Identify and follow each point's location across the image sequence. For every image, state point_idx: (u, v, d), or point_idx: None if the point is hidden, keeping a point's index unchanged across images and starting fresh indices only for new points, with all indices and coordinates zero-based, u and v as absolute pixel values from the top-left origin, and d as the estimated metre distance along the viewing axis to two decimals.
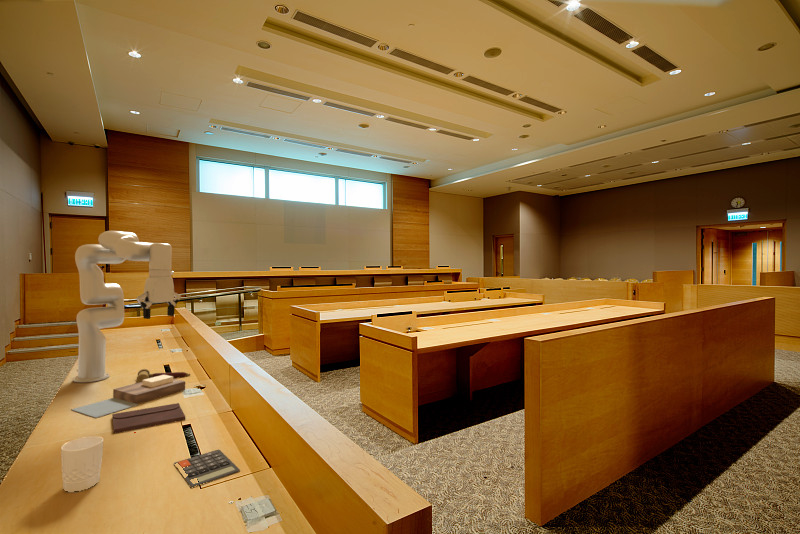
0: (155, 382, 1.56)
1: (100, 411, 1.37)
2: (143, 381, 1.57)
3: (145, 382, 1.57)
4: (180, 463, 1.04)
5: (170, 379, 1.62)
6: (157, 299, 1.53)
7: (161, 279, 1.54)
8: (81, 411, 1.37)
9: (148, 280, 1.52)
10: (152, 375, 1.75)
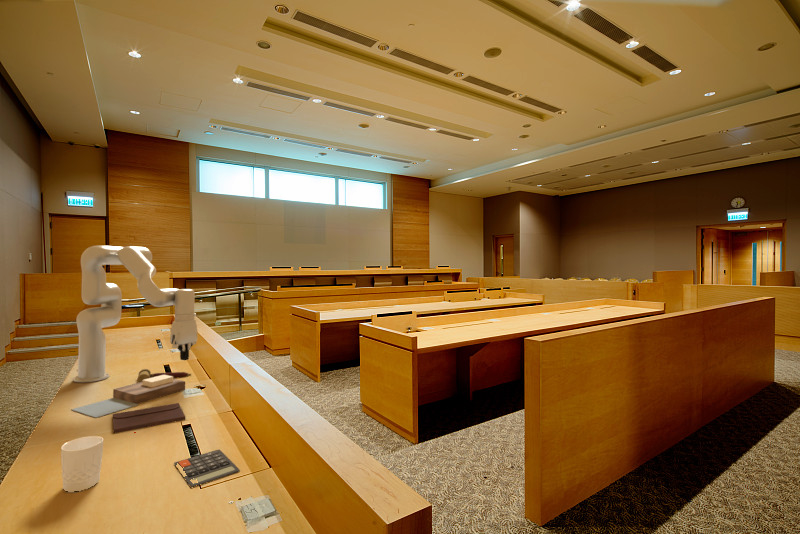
0: (155, 382, 1.56)
1: (100, 411, 1.37)
2: (143, 381, 1.57)
3: (145, 382, 1.57)
4: (180, 463, 1.04)
5: (170, 379, 1.62)
6: (183, 340, 1.67)
7: (186, 322, 1.68)
8: (81, 411, 1.37)
9: (175, 324, 1.66)
10: (153, 375, 1.75)
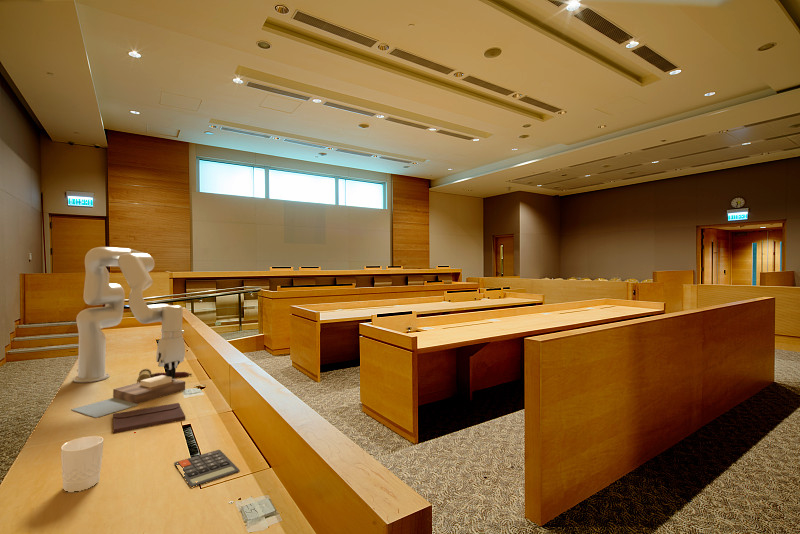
0: (153, 382, 1.56)
1: (100, 411, 1.37)
2: (141, 381, 1.56)
3: (143, 382, 1.56)
4: (180, 463, 1.04)
5: (168, 379, 1.61)
6: (169, 359, 1.62)
7: (173, 340, 1.63)
8: (81, 411, 1.37)
9: (161, 342, 1.61)
10: (154, 375, 1.75)
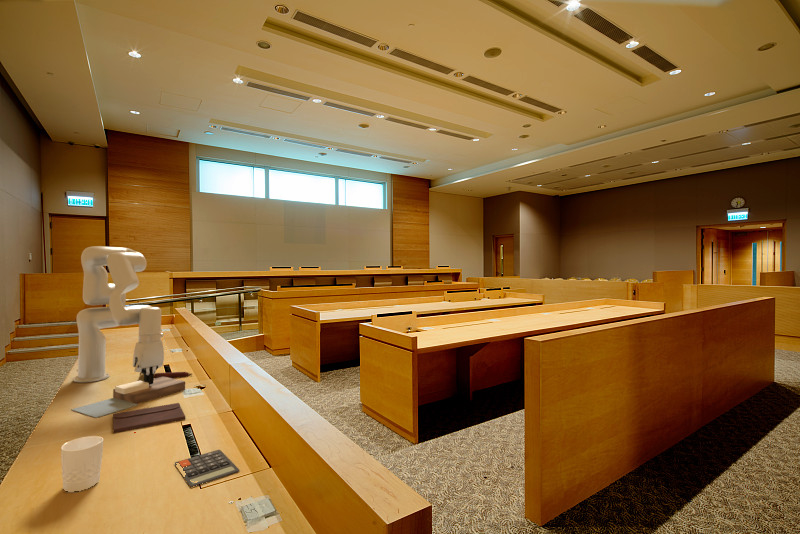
0: (128, 389, 1.47)
1: (100, 411, 1.37)
2: (116, 388, 1.48)
3: (118, 389, 1.48)
4: (180, 463, 1.04)
5: (145, 385, 1.53)
6: (147, 363, 1.54)
7: (151, 344, 1.55)
8: (81, 411, 1.37)
9: (138, 346, 1.52)
10: (154, 375, 1.76)
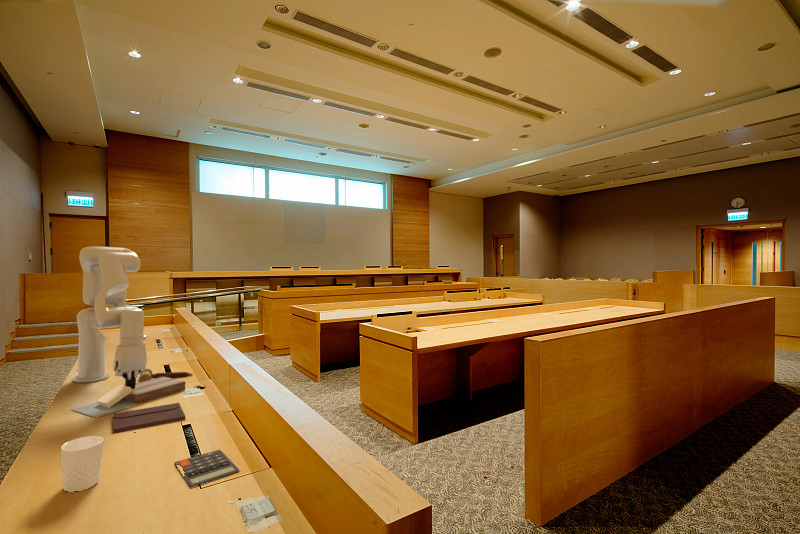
0: (110, 401, 1.41)
1: (100, 411, 1.37)
2: (98, 402, 1.42)
3: (100, 403, 1.42)
4: (180, 463, 1.04)
5: (128, 391, 1.47)
6: (128, 368, 1.47)
7: (132, 347, 1.48)
8: (81, 411, 1.37)
9: (119, 349, 1.46)
10: (154, 375, 1.76)
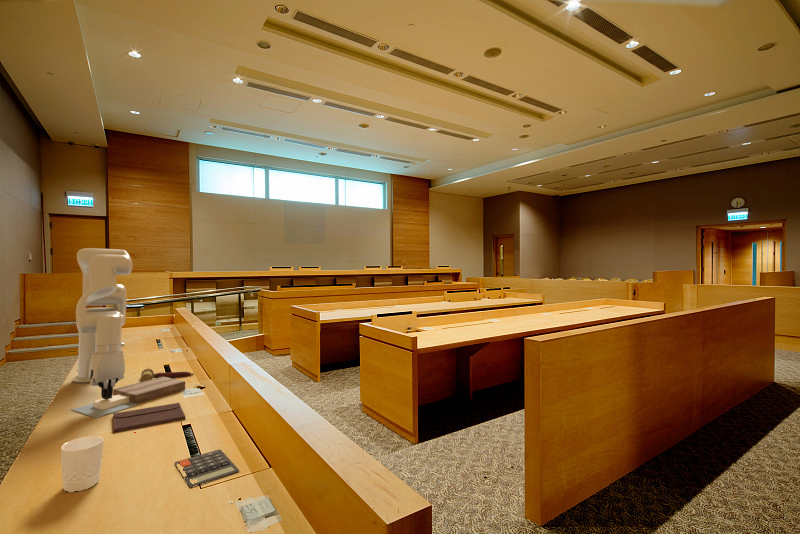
0: (107, 404, 1.40)
1: (100, 411, 1.37)
2: (94, 403, 1.41)
3: (96, 404, 1.40)
4: (181, 462, 1.04)
5: (125, 400, 1.46)
6: (104, 376, 1.40)
7: (108, 355, 1.41)
8: (81, 411, 1.37)
9: (94, 357, 1.39)
10: (156, 375, 1.76)
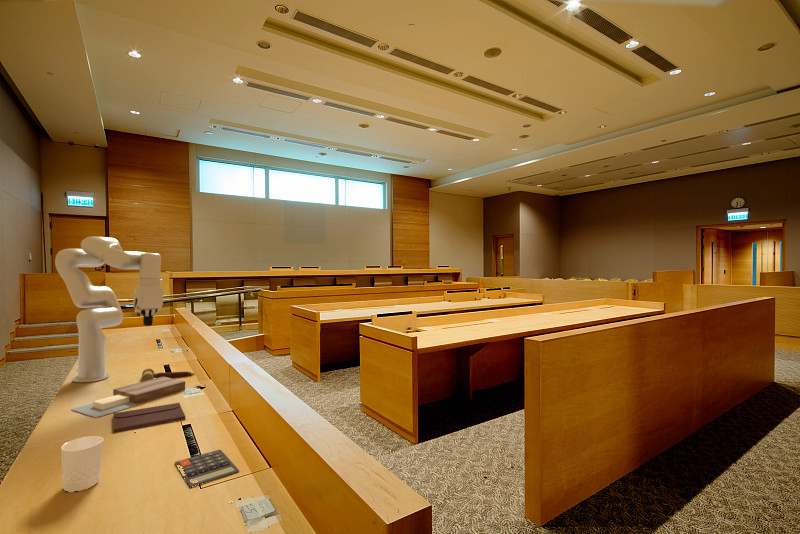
0: (107, 404, 1.40)
1: (100, 411, 1.37)
2: (94, 403, 1.41)
3: (96, 404, 1.40)
4: (181, 462, 1.04)
5: (125, 400, 1.46)
6: (146, 305, 1.63)
7: (150, 287, 1.63)
8: (81, 411, 1.37)
9: (138, 287, 1.61)
10: (156, 374, 1.76)
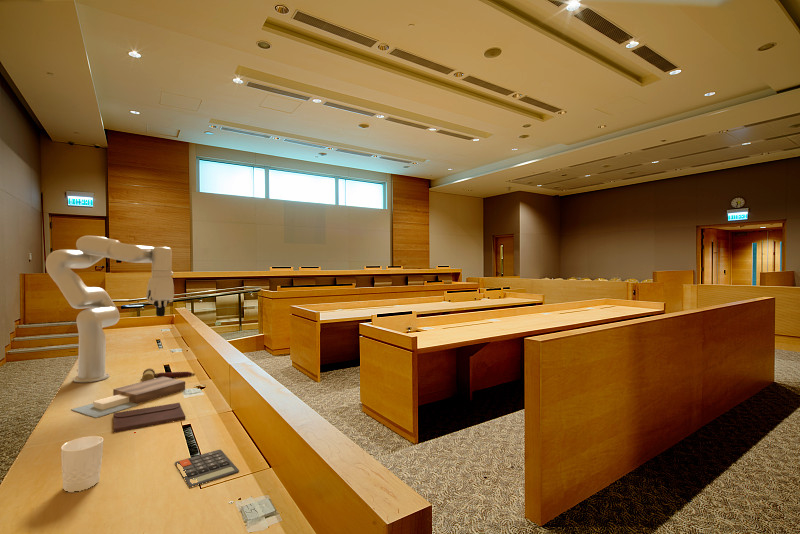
0: (107, 404, 1.40)
1: (100, 411, 1.37)
2: (94, 403, 1.41)
3: (96, 404, 1.40)
4: (181, 462, 1.04)
5: (125, 400, 1.46)
6: (159, 296, 1.71)
7: (162, 279, 1.72)
8: (81, 411, 1.37)
9: (151, 280, 1.70)
10: (157, 374, 1.76)
